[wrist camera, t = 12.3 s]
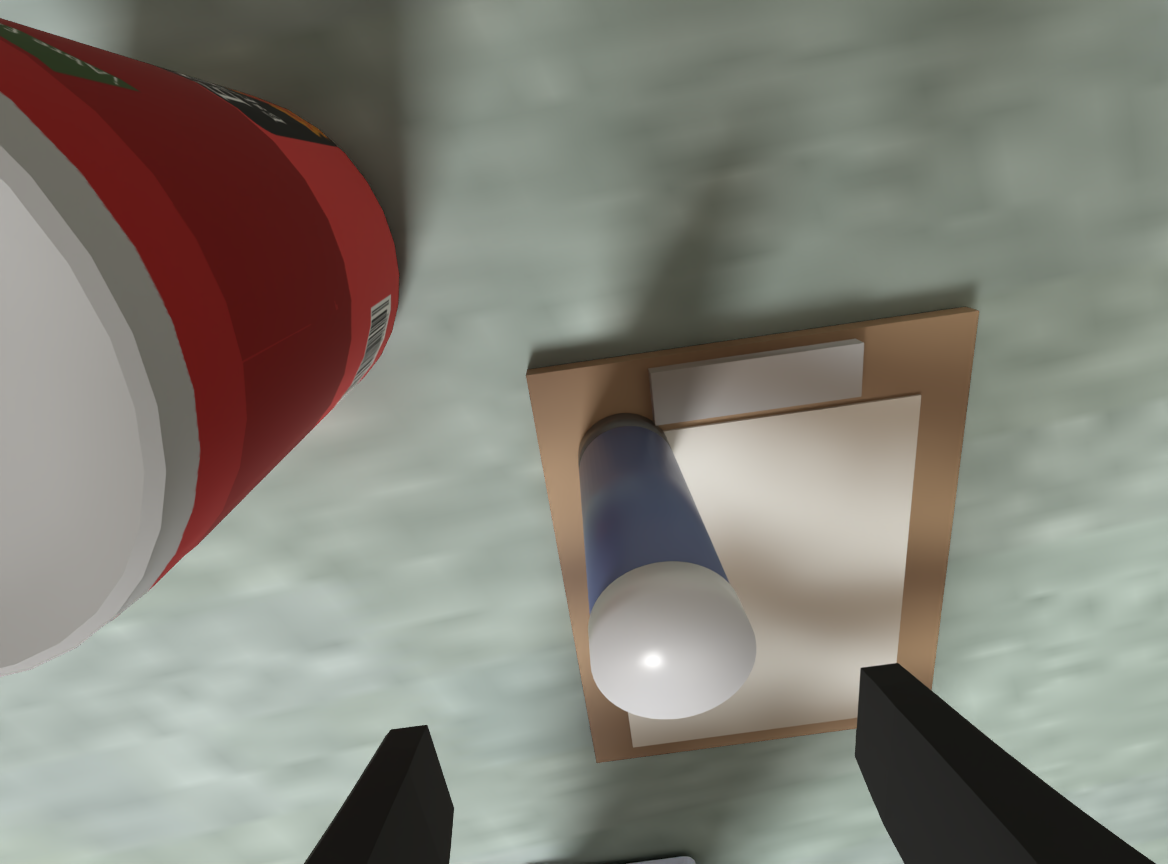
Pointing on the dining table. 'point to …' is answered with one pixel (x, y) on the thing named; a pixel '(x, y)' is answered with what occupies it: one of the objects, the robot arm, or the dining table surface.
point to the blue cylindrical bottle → (655, 580)
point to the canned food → (158, 320)
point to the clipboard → (786, 506)
